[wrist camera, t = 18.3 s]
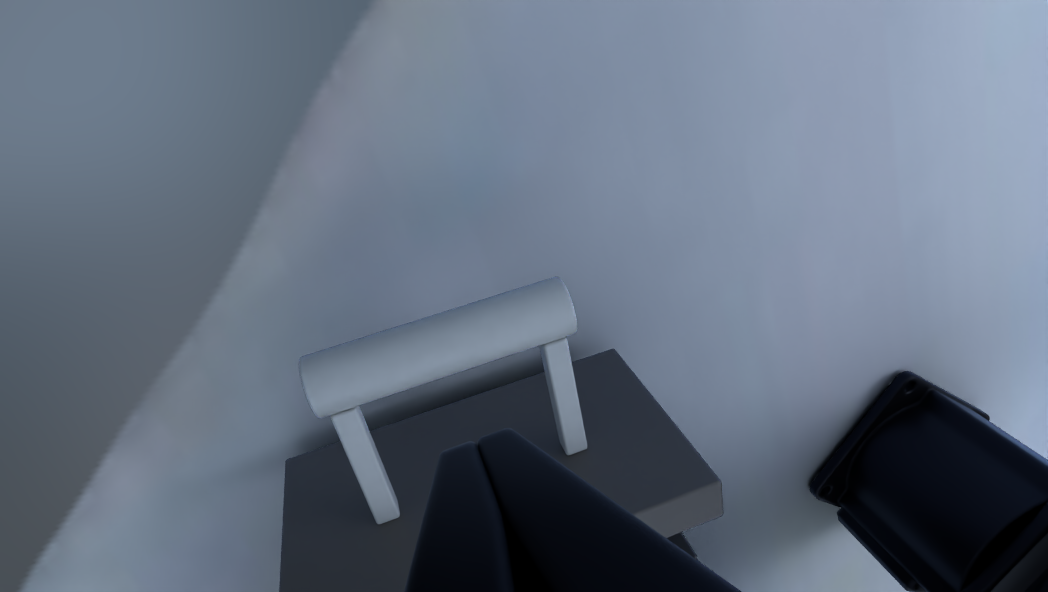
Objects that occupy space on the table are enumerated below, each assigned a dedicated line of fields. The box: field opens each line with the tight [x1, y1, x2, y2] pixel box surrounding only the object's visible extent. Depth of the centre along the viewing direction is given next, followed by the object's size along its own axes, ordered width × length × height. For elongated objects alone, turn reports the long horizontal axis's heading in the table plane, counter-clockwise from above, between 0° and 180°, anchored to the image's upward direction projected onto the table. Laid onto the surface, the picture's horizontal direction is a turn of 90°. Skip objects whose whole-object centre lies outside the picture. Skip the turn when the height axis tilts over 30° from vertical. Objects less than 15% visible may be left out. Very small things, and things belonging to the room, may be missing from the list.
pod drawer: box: [279, 277, 723, 592], centre depth 19 cm, size 17×10×6 cm, turn 11°
